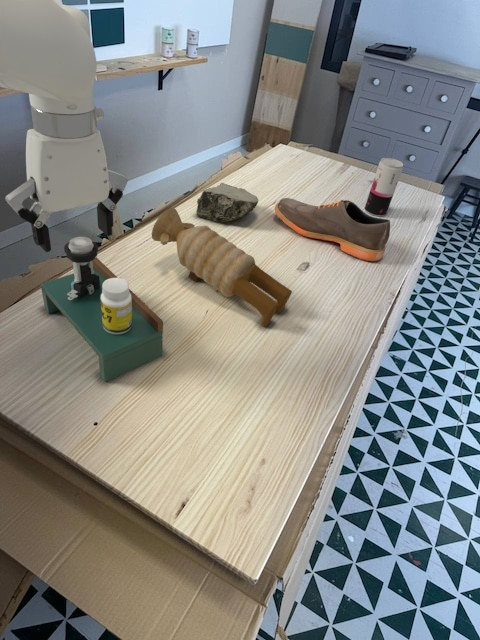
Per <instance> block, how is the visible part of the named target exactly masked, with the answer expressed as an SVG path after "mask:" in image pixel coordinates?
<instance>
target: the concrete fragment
mask: <svg viewBox="0 0 480 640" xmlns="http://www.w3.org/2000/svg"><path fill="white" fill-rule="evenodd" d="M196 203H197V205H196V212H195V213H196V217H199V218H203V219H206V220H211V221H212V222H217V223H220V222H223V223H227V222H232V221H235V220H238V219H241V218H245V217H247V216H248V215H250V214H251V213H252V212H253V210H254V209H255V208H256V207H257V205H258V204H259V197H258V196H257V195H255V194H252V193H251V192H249V191H248V190H246V189H245V188H242V187H237V186H234V185H230V184H227V183H224V182H220V183H219V185H216V186H213V187H208V188H205V189H203V190H202V192H201V194H200V196H199V198H197V201H196Z"/></svg>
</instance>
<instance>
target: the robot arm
mask: <svg viewBox="0 0 480 640" xmlns="http://www.w3.org/2000/svg"><path fill="white" fill-rule="evenodd" d="M91 37H92V35H91V25H90V22H89V18H88V17H87V15H86V14H85V12H84V11H82V10H81V9H79V8H77V7H75V6H71V5H67V4H62V3H57V2H56V1H55V0H0V88H4V89H7V90H12V91H15V92H21V93H26V94H28V98H29V99H28V100H29V104H30V105H29V106H30V111H31V119H32V126H33V128H30V129H28V130H27V131H26V140H25V168H26V181H25V182H24V183H22V184H21V185H19V186H18V187H17V188H15V189H14V190H12V191H11V192H9V193H7V195H6V196H5V198H4V199H5V201H6V202H7V204H8V205H9V206H10V207H11V208H12V209H13V211H14V212H15V214H17V215H18V216H19V217H20V218H21V219H23V220H24V221H26V222H27V223H29V224H30V227H31V231H32V237H33V238H32V239H33V241H34V244H35V245H36V246H39V247H40V248H41V249H42V250H43V251H44V252H45V253H49V252H51V251H52V245H51V238H50V231H49V227H48V226H47V225H46V222H47V220H49V219H48V218H49V217H50V215H51V214H52V213H58V212H62V211H67V210H71V209H76V208H81V207H86V206H90V205H95V204H97V206H96V216H97V227H98V229H99V230H100V231H101V232H102V233H104V234H105V235H106V236H107V237H110V236H113V227H114V211H115V210H117V204H118V203H119V201H120V200H121V199H122V198H123V196H124V191H125V190H126V186H127V184H128V182H129V179H128V178H127V176H125V175H123V174H122V173H119V172H116V171H114V170H111V169H109V168H108V161H107V155H106V151H105V145H104V142H103V138H102V135H101V131H100V130H99V129H97V128H98V125H97V123H98V122H97V121H99V120H103V119H104V118H105V114H104V110H103V108H101V107H96V106H95V92H94V90H95V89H94V83H95V80H96V76H97V69H98V66H97V56H96V51H95V48H94V45H93V42H92V38H91ZM110 182H113V186H112V187H111V188H110ZM29 198H30V199H31V201H33V203H32V205H31V206H30V208H29V209H28V208H26V206H24V205H23V203H24V201H26V200H27V199H29Z"/></svg>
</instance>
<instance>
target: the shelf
mask: <svg viewBox="0 0 480 640" xmlns="http://www.w3.org/2000/svg"><path fill="white" fill-rule="evenodd" d="M92 264H93V271H94V274H95V275H98V276H99V280H100V288H99V289H94V292H93V293H92V294H91V295H90V294H89V293H88V294H87V295H85V296H84V297H82V298H78V297H76V298H74V299H72V298H70V299H72V300H69V299H67V298H68V297H70V296H69V295H67V294H68V293H69V292H71V290H72V288H71V283H72V282H73V281H74V279H75V277H74V273H71V274H67V275H64V276H61V277H57V278H55V279H54V278H53V279H51V280H49V281H44V282H42V283H40V288H41V293H42V300H43V305H44V306H43V307H44V310H45V311H46V313H47V314H49V315H51V314H53V313H55V312H59V311H60V313H61V314H62V315H63V316H64V317H65V318H66V320H67V321H68V322H69V323H70V324H71V325H72V327H73V328H74V329H75V330H76V331H77V332H78V334H80V336H81V337H82V338H83V340H84V341H85V342H86V343H87V344H88V345H89V347H90V348H91V349H92V350H93V351H94V352H95V354H96V355H97V356H98V363H99V364H98V367H99V377H100V378H101V379H102V381H103V382H104V383H107V382H109V381H111V380H113V379H116V378H118V377H121V376H122V375H124V374H125V373H128V372H130V371H132V370H134V369H136V368H138V367H141V366H143V365H145V364H147V363H149V362H152V361H154V360H155V359H158V358H160V357H162V356H163V338H164V337H163V334H164V320H162V318H161V317H159V316H158V314H156V313H155V312H154V311H153V310H152V309H151V307H149V306H148V305H147V304H146V303H145V302H144V301H143V300H142V299H141V298H139V297H138V295H136V293H135V292H133V290H131V288H129V292H130V294H131V297H132V327H131V329H130V330H129V331H127V332H126V333H123V334H111V333H108V332H107V331H106V330H105V329H104V328H103V324H102V312H101V311H102V310H101V294H102V284H103V282H104V281H106V280H107V279H110V278H119V277H118V276H117V275H116V274H115V273H114V272H113V271H112V270H110V268H108V266H106V264H104V263H103V262H102V260H100V259H99V258H98V257H97V256H96V257H95V259H94V260H93V261H92ZM91 292H92V291H91ZM70 294H72V293H70Z"/></svg>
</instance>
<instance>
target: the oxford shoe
mask: <svg viewBox="0 0 480 640" xmlns="http://www.w3.org/2000/svg"><path fill="white" fill-rule="evenodd" d="M274 213H275V214H276V216H277V217H278V218H279V219H280V220H281V221H282V222H283V223H284V224H285V225H286V226H288V227H289V229H291V230H293V231H294V232H296V233H298V234H299V235H300V236H304V237H305V238H311V239H317V240H323V241H330V242H335V243H337V244H340V251H342V252H344V253H345V254H348V255H350V256H352V257H355V258H356V259H360V260H363V261H368V262H377V261H380V260H381V259H383V257H384V255H385V251H386V245H387V244H388V241H389V238H390V234H391V220H390V219H387V218H381V217H377V216H373V215H371V214H369V213H368V214H367V212H365V211H363V210H362V209H361V208H360V206H358V205H357V204H356V203H354V202H353V201H351V200H348V199H345V200H344V199H340V200H339V201H338V200H337V201H336V202H331V203H327V204H325V205H324V204H320V205H313V204H307V203H305V202H302V201H299V200H296V199H295V198H291V197H290V198H289V197H283V198H281V199H280V200H279V201H278V202H277V203H276V204H275V206H274Z"/></svg>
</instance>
